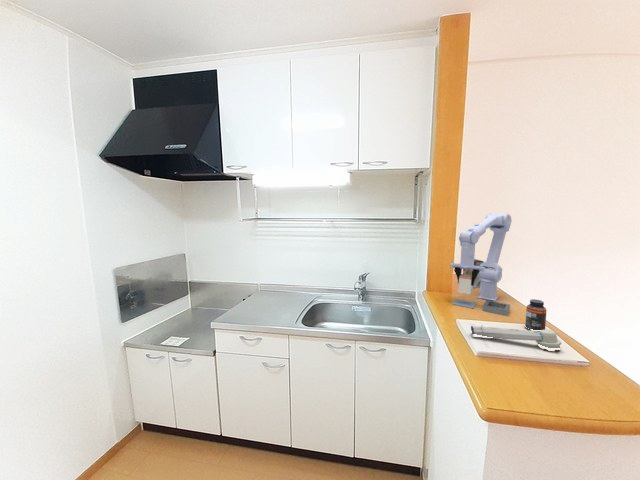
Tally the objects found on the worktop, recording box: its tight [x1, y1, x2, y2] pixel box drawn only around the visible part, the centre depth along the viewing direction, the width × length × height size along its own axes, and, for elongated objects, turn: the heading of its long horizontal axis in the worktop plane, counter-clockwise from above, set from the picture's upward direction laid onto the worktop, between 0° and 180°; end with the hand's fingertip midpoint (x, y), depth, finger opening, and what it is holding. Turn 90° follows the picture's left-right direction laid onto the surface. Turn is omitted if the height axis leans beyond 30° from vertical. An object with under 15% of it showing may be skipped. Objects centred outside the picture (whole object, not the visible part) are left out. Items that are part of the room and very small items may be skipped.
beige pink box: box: [458, 273, 474, 295], centre depth 129 cm, size 5×5×8 cm
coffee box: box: [462, 258, 485, 289], centre depth 160 cm, size 9×6×16 cm
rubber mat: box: [451, 298, 478, 309], centre depth 130 cm, size 9×9×1 cm
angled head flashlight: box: [470, 324, 562, 349], centre depth 91 cm, size 5×7×25 cm
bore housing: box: [482, 299, 511, 317], centre depth 121 cm, size 10×10×2 cm
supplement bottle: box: [524, 298, 547, 330], centre depth 101 cm, size 6×6×11 cm
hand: (465, 284), depth 129 cm, fingers closed on beige pink box, 5 cm apart
